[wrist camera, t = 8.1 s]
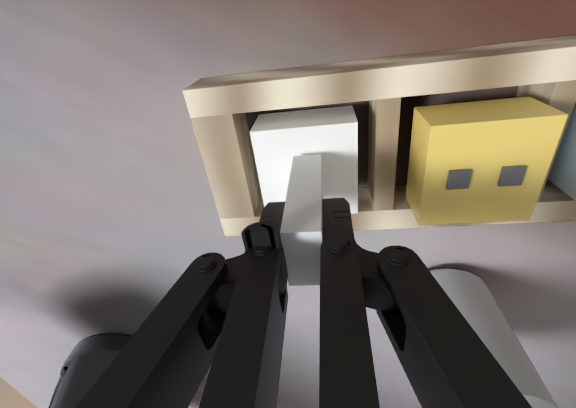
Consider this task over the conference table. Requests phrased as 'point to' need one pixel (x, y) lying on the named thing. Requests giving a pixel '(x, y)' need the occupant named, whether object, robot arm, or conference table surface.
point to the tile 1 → (308, 150)
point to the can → (494, 332)
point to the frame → (372, 119)
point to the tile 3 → (566, 160)
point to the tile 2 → (480, 159)
